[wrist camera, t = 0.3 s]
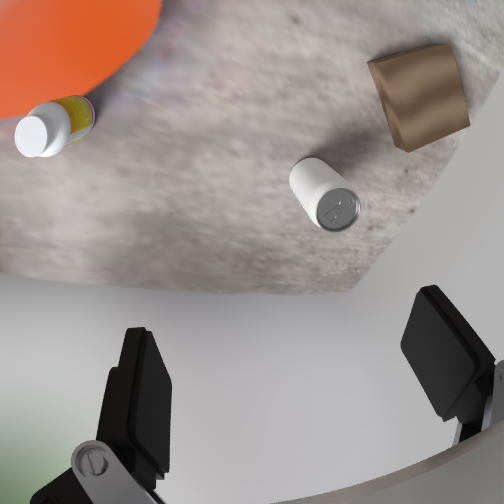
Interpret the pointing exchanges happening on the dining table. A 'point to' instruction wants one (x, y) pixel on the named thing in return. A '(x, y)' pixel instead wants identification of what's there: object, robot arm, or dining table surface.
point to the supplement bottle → (54, 126)
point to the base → (420, 95)
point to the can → (325, 195)
